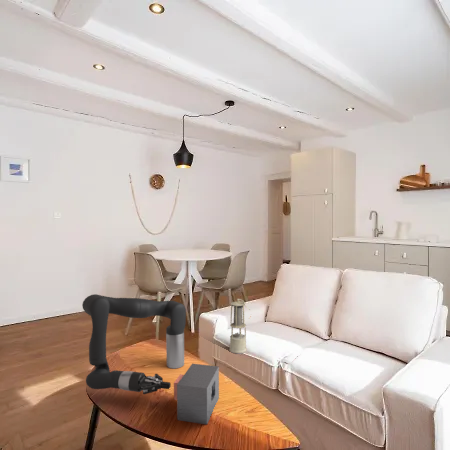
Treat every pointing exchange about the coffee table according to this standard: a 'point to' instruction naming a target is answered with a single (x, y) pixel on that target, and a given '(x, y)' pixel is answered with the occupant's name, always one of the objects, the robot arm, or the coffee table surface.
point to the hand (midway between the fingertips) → (169, 385)
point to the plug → (176, 386)
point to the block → (198, 393)
